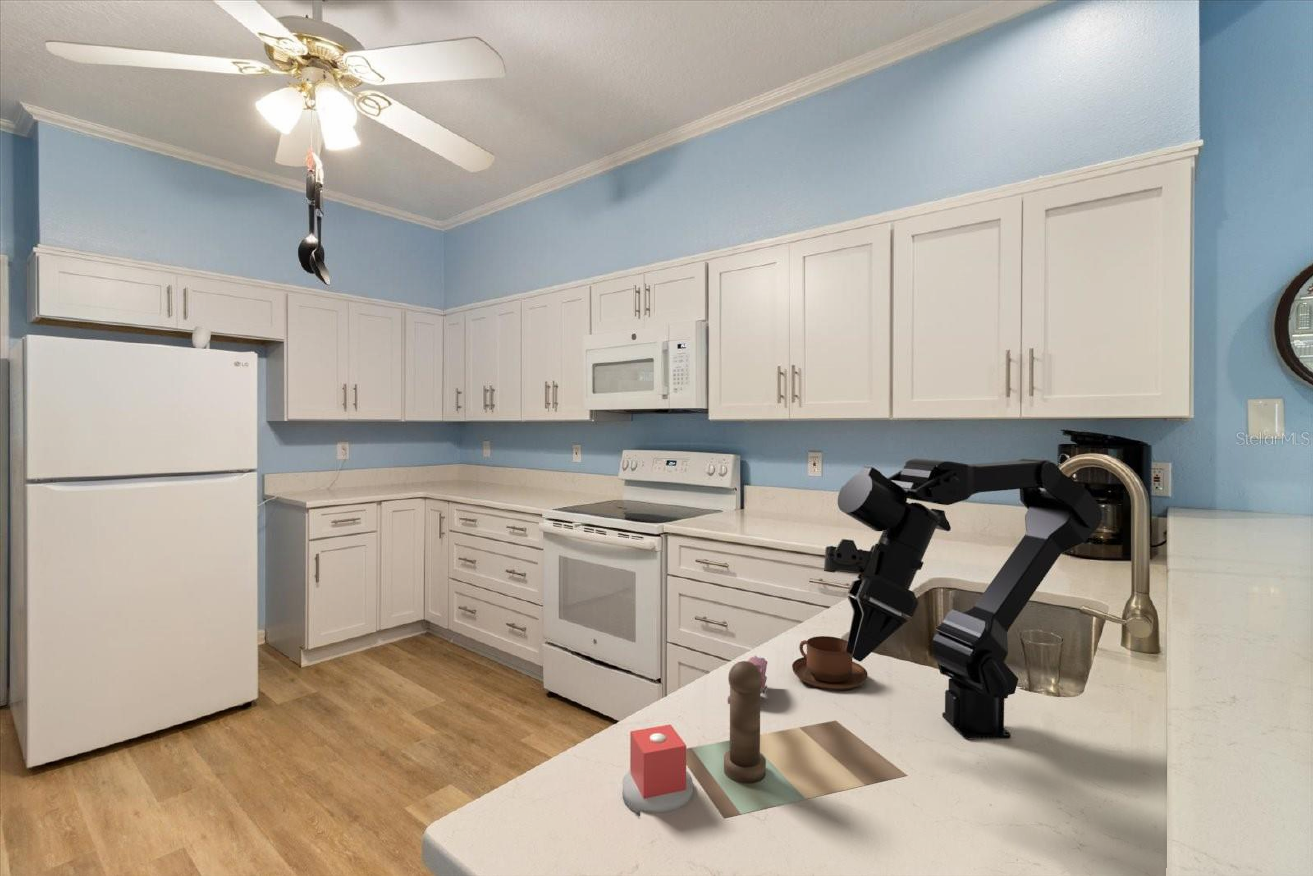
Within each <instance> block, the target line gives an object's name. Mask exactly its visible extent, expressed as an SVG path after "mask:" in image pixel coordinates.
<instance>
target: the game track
mask: <svg viewBox="0 0 1313 876" xmlns="http://www.w3.org/2000/svg"><path fill="white" fill-rule="evenodd" d="M729 750H730V739H728V740H724V741H721V742H720V741H719V742H714V743H709V744H708V743H707V744H702V745H697V746H692V747H686V767H687V768H688V769H689V771H690V772H691V774H692V775H693V776H694V778H695V779H696V781H697V782H698V783H699V785H700V786H701V787H702V789H703V790H704V792H705V794H706V795H707V796H708V798H709V799H710V801H711V802H712V804H713V805H714V807H715V808H716V809H717V811H718V812H719V814H720V815H721V817H722V818H723V819H728V818H732V817H736V816H740V815H741V816H742V815H745V814H748V813H753V812H756V811H757V812H758V811H762V810H766V809H770V808H774V807H779V806H784V805H788V804H791V803H796V802H800V801H804V800H809V799H814V798H817V797H821V796H825V795H830V794H835V793H837V792H838V793H839V792H843V791H847V790H851V789H856V788H861V787H864V786H865V787H866V786H869V785H873V784H877V783H882V782H886V781H889V780H890V781H891V780H894V779H898V778H904V777H907V776H908V774H907V773H905V772H904V771H903V770H901V769H900V768H899V767H897V766H896V765H895V764H893V763H892V762H890V760H888V759H887V758H886V757H884V756H883V755H881V754H880V753H879V752H878V751H876V750H875V749H874V748H873V747H872V746H870V745H868V744H867V743H866V742H864V741H863V740H862V739H860V738H859V737H858V736H857V735H856V734H854V733H853V732H851V731H850V730H849V729H848V728H846V727H845V726H844V725H842V724H841V723H840V722H838V721H837V720H831V721H830V720H829V721H826V722H821V723H815V724H811V725H809V724H808V725H805V726H799V727H793V728H789V729H783V730H778V731H772V732H767V733H760V753H761V754H762V755H763V756H764V757H765V759H766V775H765V777H764V779H762V780H761V781H759V782H756V783H750V784H745V783H739V782H736V781H733V780H731V779H730V778H728V777H727V776H726V775H725V773H724V755H725V753H726V752H727V751H729Z"/></svg>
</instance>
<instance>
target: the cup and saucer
mask: <svg viewBox="0 0 1313 876" xmlns="http://www.w3.org/2000/svg"><path fill="white" fill-rule="evenodd" d="M847 642H848V640H846V639H843V638H840V637H835V636H828V635H827V636H825V635H822V636H821V635H820V636H818V635H817V636H813V637H810V638H808V639H807V640H806V639H805V640H802V641H800V643H799V646H798V647H799V648H798V649H799V652H800V654H801V656H802V657H800V658H798V659H796V660H795V661H794V662H793V663H792V664H791V665H792V666H791V668H792V672H793V674H794V675H795V676H796V677H797V678H798V679H800V680H801V681H802V682H804V683H806V684H808V685H810V686H812V687H816V688H820V689H823V690H825V689H826V690H831V691H833V690H834V691H835V690H836V691H844V690H852V689H855V688H858V687H859V686H861V685H863V684H864V683H865V682H866V681H867V679H868V671H867V670H866V669H865V667H864V666H862V665H861V664H859V663H857V662H854V661H853V657H852V654H850V653H848V652H847V651H846V647H847ZM805 645H806V653H805V651H804V646H805Z"/></svg>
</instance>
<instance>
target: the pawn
mask: <svg viewBox="0 0 1313 876" xmlns="http://www.w3.org/2000/svg"><path fill="white" fill-rule="evenodd" d="M727 677H728V678H727V679H728V684H729V695H730V704H729V740H730V750H729V751H727V752H726V753H725V755H724V773H725V775H726V776H727V777H728V778H730V779H731V780H733V781H736V782H739V783H745V784H750V783H756V782H759V781H761V780H762V779H764V777H765V775H766V759H765V757H764V756H763V755H762V754H761V753H760V735H761V694H760V688H761V685H762V675H761V672H760V670H759V669H758V667H757V666H756V665H754V664H753V663H751V662H748V660H743V661H738V662H736V663H735V664H733V666H732V667H730V670H729V673H728V676H727Z"/></svg>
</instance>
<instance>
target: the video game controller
mask: <svg viewBox="0 0 1313 876" xmlns="http://www.w3.org/2000/svg"><path fill="white" fill-rule="evenodd" d="M747 661H748V662H751V663H753V664H754V665H756V666H757V667H758V669H759V670H760V672H761V675H762V685H761V688H760V695H761V694H762V692H763V694H765V693H766V692H767V691H768V685H766V683H767V679H768V677H767V676H766V673H767V665H768V661H767V660H766V659H765V658H764V657H762V656H758V657H757V655H756V654H754V655H753V656H751V657H750V658H749V659H748V660H747ZM727 704H729V705H730V694H729V696H728V697H727Z"/></svg>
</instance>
